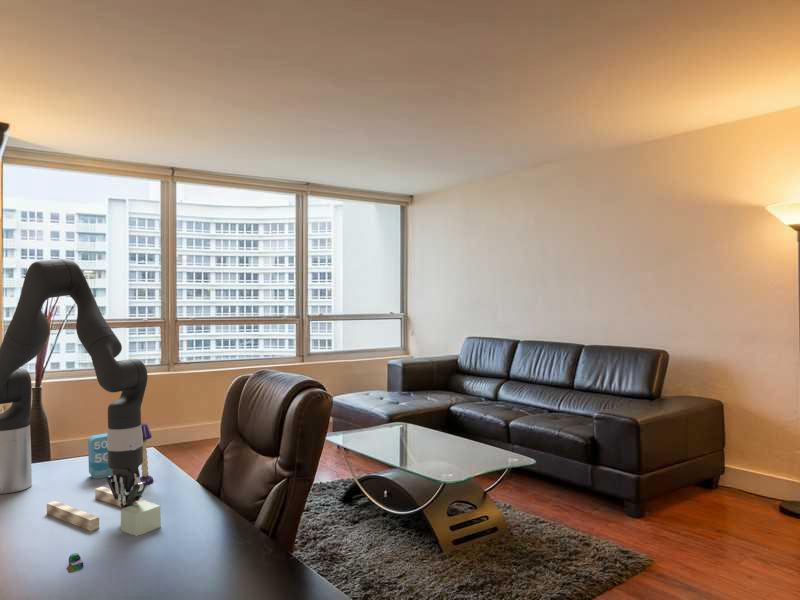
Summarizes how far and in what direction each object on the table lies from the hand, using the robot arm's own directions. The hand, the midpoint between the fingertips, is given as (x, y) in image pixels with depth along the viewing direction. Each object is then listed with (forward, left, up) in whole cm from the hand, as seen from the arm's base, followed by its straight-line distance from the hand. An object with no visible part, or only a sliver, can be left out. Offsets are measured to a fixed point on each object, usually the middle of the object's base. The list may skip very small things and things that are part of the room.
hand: (127, 518), depth 135 cm
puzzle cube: (+11, -17, -2) cm, 21 cm away
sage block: (+6, 0, -1) cm, 6 cm away
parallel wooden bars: (-13, 0, -1) cm, 13 cm away
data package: (-39, +19, -1) cm, 43 cm away
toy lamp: (-23, +19, -1) cm, 30 cm away
